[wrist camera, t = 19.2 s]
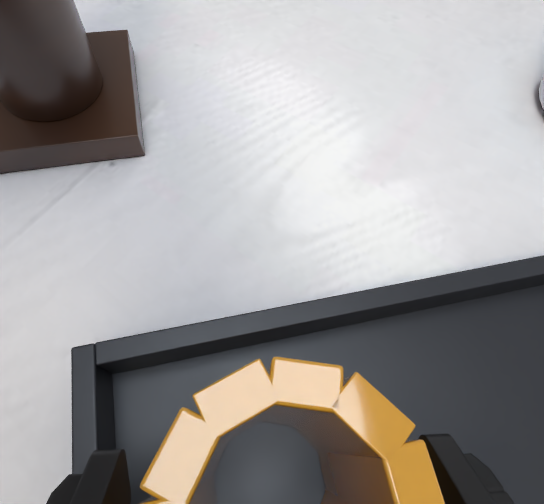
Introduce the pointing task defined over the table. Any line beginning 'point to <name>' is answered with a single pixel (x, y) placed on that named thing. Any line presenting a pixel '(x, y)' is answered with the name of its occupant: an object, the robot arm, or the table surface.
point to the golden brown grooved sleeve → (308, 423)
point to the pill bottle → (541, 92)
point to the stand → (64, 89)
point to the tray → (353, 358)
